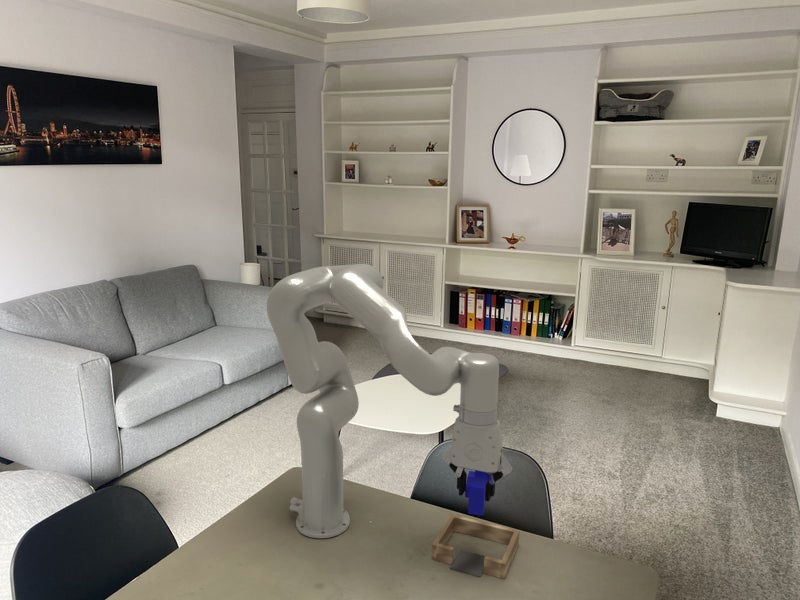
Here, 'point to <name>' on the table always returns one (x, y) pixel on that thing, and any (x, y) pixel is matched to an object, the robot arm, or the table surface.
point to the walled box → (473, 561)
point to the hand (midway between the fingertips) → (475, 494)
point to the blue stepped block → (476, 492)
